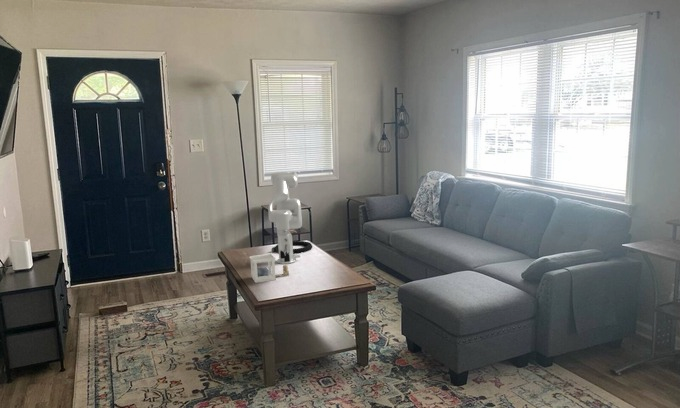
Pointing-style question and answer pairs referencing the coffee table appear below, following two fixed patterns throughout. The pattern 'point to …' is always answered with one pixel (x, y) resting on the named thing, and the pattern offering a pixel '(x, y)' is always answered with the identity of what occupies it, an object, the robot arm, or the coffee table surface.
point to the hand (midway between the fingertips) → (285, 259)
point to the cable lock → (299, 250)
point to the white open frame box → (269, 259)
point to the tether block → (285, 273)
